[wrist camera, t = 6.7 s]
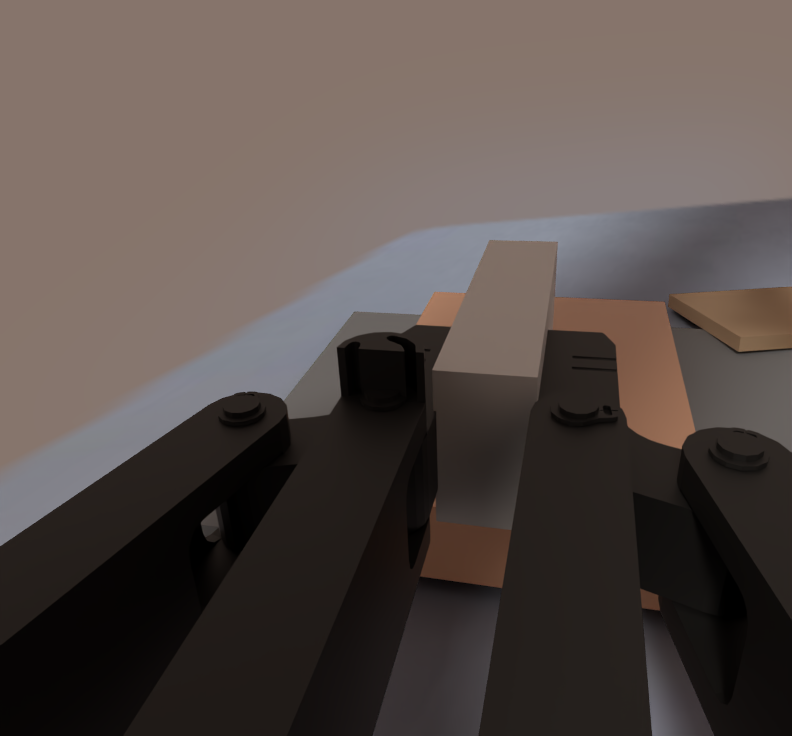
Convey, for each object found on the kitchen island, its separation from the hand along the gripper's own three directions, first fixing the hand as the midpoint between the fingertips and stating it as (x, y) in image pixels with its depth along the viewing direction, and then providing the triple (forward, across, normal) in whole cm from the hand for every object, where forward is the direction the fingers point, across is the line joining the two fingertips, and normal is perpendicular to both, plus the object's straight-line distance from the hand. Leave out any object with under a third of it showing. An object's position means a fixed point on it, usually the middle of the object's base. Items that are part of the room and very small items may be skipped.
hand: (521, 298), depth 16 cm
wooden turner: (+18, +15, -7) cm, 25 cm away
